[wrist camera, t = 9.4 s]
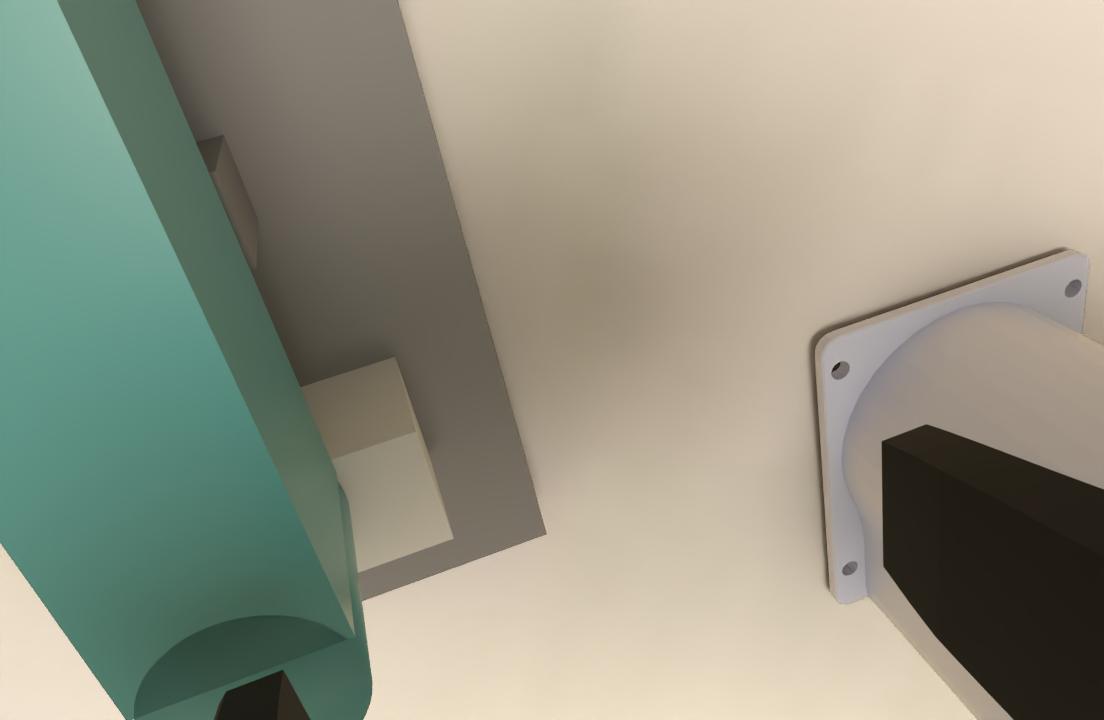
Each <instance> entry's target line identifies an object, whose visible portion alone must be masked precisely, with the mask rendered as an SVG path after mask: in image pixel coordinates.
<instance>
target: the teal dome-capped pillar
mask: <svg viewBox="0 0 1104 720" xmlns="http://www.w3.org/2000/svg"><path fill="white" fill-rule="evenodd" d="M0 543H1V544H2V546H3V547H4V549H5V550H6V551H7V553H8V554H9V556H10V557H11V559H12V560H13V561H14V563H15V564H16V566H17V567H18V568H19V570H20V571H21V573H22V574H23V575H24V577H25V578H26V580H27V581H28V582H29V584H30V585H31V587H32V588H33V589H34V591H35V592H36V594H37V595H38V597H39V598H40V599H41V601H42V602H43V604H44V605H45V606H46V608H47V609H48V611H49V612H50V613H51V615H52V616H53V618H54V619H55V620H56V622H57V623H58V625H59V626H60V628H61V629H62V630H63V632H64V633H65V635H66V636H67V637H68V639H69V640H70V642H71V643H72V644H73V646H74V647H75V649H76V650H77V651H78V653H79V654H80V656H81V657H82V659H83V660H84V661H85V663H86V664H87V666H88V667H89V668H90V670H91V671H92V673H93V674H94V675H95V677H96V678H97V680H98V681H99V682H100V684H101V685H102V687H103V688H104V690H105V691H106V692H107V694H108V695H109V697H110V698H111V699H112V701H113V702H114V704H115V705H116V706H117V708H118V709H119V711H120V712H121V713H122V715H123V716H124V718H125V719H126V720H133V719H134V720H214V718H215V715H216V712H217V709H218V706H219V703H220V701H221V699H222V698H223V696H224V694H225V692H226V691H228V690H231V689H234V688H236V687H239V686H241V685H244V684H247V683H249V682H252V681H255V680H257V679H260V678H262V677H265V676H268V675H270V674H273V673H275V672H278V671H281V670H284V672H285V674H286V675H287V677H288V679H289V681H290V683H291V685H292V686H293V688H294V690H295V692H296V694H297V696H298V698H299V699H300V701H301V703H302V705H303V707H304V709H305V710H306V712H307V714H308V716H309V718H310V720H363V719H364V717H365V715H366V713H367V710H368V707H369V705H370V701H371V696H372V676H371V668H370V661H369V653H368V645H367V638H366V630H365V622H364V615H363V607H362V599H361V592H360V584H359V576H358V568H357V561H356V553H355V545H354V538H353V530H352V522H351V515H350V508H349V502H348V499H347V496H346V494H345V492H344V490H343V488H342V486H341V485H340V483H339V482H338V481H337V473H336V470H335V468H334V465H333V463H332V461H331V458H330V456H329V454H328V451H327V449H326V447H325V444H324V442H323V440H322V437H321V435H320V433H319V430H318V428H317V426H316V423H315V421H314V418H313V416H312V414H311V411H310V409H309V407H308V404H307V402H306V400H305V397H304V395H303V393H302V390H301V388H300V386H299V383H298V381H297V379H296V376H295V374H294V372H293V369H292V367H291V364H290V362H289V360H288V357H287V355H286V353H285V350H284V348H283V346H282V343H281V341H280V339H279V336H278V334H277V332H276V329H275V327H274V325H273V322H272V320H271V318H270V315H269V313H268V310H267V308H266V306H265V303H264V301H263V299H262V296H261V294H260V292H259V289H258V287H257V285H256V282H255V280H254V278H253V275H252V273H251V271H250V268H249V266H248V264H247V261H246V259H245V257H244V254H243V252H242V249H241V247H240V245H239V242H238V240H237V238H236V235H235V233H234V231H233V228H232V226H231V224H230V221H229V219H228V217H227V214H226V212H225V210H224V207H223V205H222V203H221V200H220V198H219V195H218V193H217V191H216V188H215V186H214V184H213V181H212V179H211V177H210V174H209V172H208V170H207V167H206V165H205V163H204V160H203V158H202V156H201V153H200V151H199V149H198V146H197V144H196V141H195V139H194V137H193V134H192V132H191V130H190V127H189V125H188V123H187V120H186V118H185V116H184V113H183V111H182V109H181V106H180V104H179V102H178V99H177V97H176V95H175V92H174V90H173V87H172V85H171V83H170V80H169V78H168V76H167V73H166V71H165V69H164V66H163V64H162V62H161V59H160V57H159V55H158V52H157V50H156V48H155V45H154V43H153V41H152V38H151V36H150V33H149V31H148V29H147V26H146V24H145V22H144V19H143V17H142V15H141V12H140V10H139V8H138V5H137V3H136V1H135V0H0Z"/></svg>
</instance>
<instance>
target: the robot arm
mask: <svg viewBox="0 0 1104 720" xmlns="http://www.w3.org/2000/svg"><path fill="white" fill-rule="evenodd" d="M1088 275H1089V259H1088V257H1087V256H1086V255H1084V254H1082V253H1079V252H1077V251H1074V250H1066V251H1063V252H1060V253H1058V254H1055V255H1052V256H1049V257H1046V258H1043V259H1040V260H1037V261H1034V262H1031V263H1028V264H1026V265H1023V266H1020V267H1017V268H1014V269H1011V270H1008V271H1005V272H1002V273H999V274H997V275H994V276H991V277H988V278H985V279H982V280H979V281H976V282H973V283H970V284H968V285H965V286H962V287H959V288H956V289H953V290H950V291H947V292H944V293H941V294H939V295H936V296H933V297H930V298H927V299H924V300H921V301H918V302H915V303H912V304H910V305H907V306H904V307H901V308H898V309H895V310H892V311H889V312H886V313H883V314H880V315H878V316H875V317H872V318H869V319H866V320H863V321H860V322H857V323H854V324H851V325H849V326H846V327H843V328H840V329H837V330H834V331H831V332H829V333H828V334H826V335H824V336H823V337H822V338H821V339H820V340H819V342H818V344H817V346H816V349H815V366H816V382H817V397H818V413H819V428H820V444H821V459H822V475H823V490H824V506H825V521H826V537H827V552H828V567H829V583H830V592H831V595H832V596H833V597H834V598H835V600H836V601H837V602H839V603H840V604H850V603H853V602H855V601H858V600H860V599H863V598H866V597H868V596H869V597H870V598H871V599H872V601H873V602H874V603H875V604H876V605H877V606H878V607H879V609H880V610H881V611H882V612H883V613H884V614H885V615H886V617H887V618H888V619H889V620H890V621H891V622H892V623H893V624H894V626H895V627H896V628H897V629H898V630H899V631H900V632H901V634H902V635H903V636H904V637H905V638H906V639H907V640H908V642H909V643H910V644H911V645H912V646H913V647H914V648H915V649H916V651H917V652H918V653H919V654H920V655H921V656H922V657H923V659H924V660H925V661H926V662H927V663H928V664H929V665H930V667H931V668H932V669H933V670H934V671H935V672H936V673H937V675H938V676H939V677H940V678H941V679H942V680H943V681H944V682H945V684H946V685H947V686H948V687H949V688H950V689H951V690H952V692H953V693H954V694H955V695H956V696H957V697H958V698H959V700H960V701H961V702H962V703H963V704H964V705H965V706H966V707H967V709H968V710H969V711H970V712H971V713H972V714H973V715H974V717H975V718H976V719H977V720H1104V346H1103V345H1101V344H1099V343H1097V342H1095V341H1093V340H1091V339H1089V338H1087V337H1085V336H1083V335H1082V328H1083V319H1084V310H1085V301H1086V292H1087V284H1088ZM1068 284H1069V285H1068ZM1067 285H1068V286H1067ZM1066 286H1067V288H1066ZM839 362H841V364H840V366H839V368H838V369H837V370H836V371H834V372H832V369H833V367H834V366H835V365H836V364H837V363H839ZM831 372H832V373H831ZM214 720H310V718H309V716H308V714H307V712H306V710H305V709H304V707H303V705H302V703H301V701H300V699H299V698H298V696H297V694H296V692H295V690H294V688H293V686H292V685H291V683H290V681H289V679H288V677H287V675H286V674H285V672H284V670H281V671H278V672H275V673H273V674H270V675H268V676H265V677H262V678H260V679H257V680H255V681H252V682H249V683H247V684H244V685H241V686H239V687H236V688H234V689H231V690H228V691H226V692H225V694H224V696H223V698H222V699H221V701H220V703H219V706H218V709H217V712H216V715H215V718H214Z"/></svg>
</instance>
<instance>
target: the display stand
mask: <svg viewBox="0 0 1104 720" xmlns="http://www.w3.org/2000/svg"><path fill="white" fill-rule="evenodd" d="M135 1H136V3H137V5H138V8H139V10H140V12H141V15H142V17H143V19H144V22H145V24H146V26H147V29H148V31H149V33H150V36H151V38H152V41H153V43H154V45H155V48H156V50H157V52H158V55H159V57H160V59H161V62H162V64H163V66H164V69H165V71H166V73H167V76H168V78H169V80H170V83H171V85H172V87H173V90H174V92H175V95H176V97H177V99H178V102H179V104H180V106H181V109H182V111H183V113H184V116H185V118H186V120H187V123H188V125H189V127H190V130H191V132H192V134H193V137H194V139H195V141H196V144H197V146H198V149H199V151H200V153H201V156H202V158H203V160H204V163H205V165H206V167H207V170H208V172H209V174H210V177H211V179H212V181H213V184H214V186H215V188H216V191H217V193H218V195H219V198H220V200H221V203H222V205H223V207H224V210H225V212H226V214H227V217H228V219H229V221H230V224H231V226H232V228H233V231H234V233H235V235H236V238H237V240H238V242H239V245H240V247H241V249H242V252H243V254H244V257H245V259H246V261H247V264H248V266H249V268H250V271H251V273H252V275H253V278H254V280H255V282H256V285H257V287H258V289H259V292H260V294H261V296H262V299H263V301H264V303H265V306H266V308H267V310H268V313H269V315H270V318H271V320H272V322H273V325H274V327H275V329H276V332H277V334H278V336H279V339H280V341H281V343H282V346H283V348H284V350H285V353H286V355H287V357H288V360H289V362H290V364H291V367H292V369H293V372H294V374H295V376H296V379H297V381H298V383H299V386H300V388H301V390H302V393H303V395H304V397H305V400H306V402H307V404H308V407H309V409H310V411H311V414H312V416H313V418H314V421H315V423H316V426H317V428H318V430H319V433H320V435H321V437H322V440H323V442H324V444H325V447H326V449H327V451H328V454H329V456H330V458H331V461H332V463H333V465H334V468H335V470H336V473H337V481H338V482H339V483H340V485H341V486H342V488H343V490H344V492H345V494H346V496H347V499H348V502H349V508H350V515H351V522H352V530H353V538H354V545H355V553H356V561H357V568H358V576H359V584H360V592H361V599H362V601H364V600H366V599H369V598H372V597H375V596H377V595H380V594H383V593H386V592H388V591H391V590H394V589H397V588H399V587H402V586H405V585H408V584H410V583H413V582H416V581H419V580H422V579H424V578H427V577H430V576H433V575H435V574H438V573H441V572H444V571H446V570H449V569H452V568H455V567H457V566H460V565H463V564H466V563H468V562H471V561H474V560H477V559H479V558H482V557H485V556H488V555H490V554H493V553H496V552H499V551H501V550H504V549H507V548H510V547H512V546H515V545H518V544H521V543H523V542H526V541H529V540H532V539H534V538H537V537H540V536H543V535H545V534H546V530H545V526H544V523H543V519H542V516H541V512H540V508H539V505H538V501H537V498H536V494H535V491H534V487H533V483H532V480H531V476H530V473H529V469H528V466H527V462H526V458H525V455H524V451H523V448H522V444H521V440H520V437H519V433H518V430H517V426H516V423H515V419H514V415H513V412H512V408H511V405H510V401H509V398H508V394H507V390H506V387H505V383H504V380H503V376H502V372H501V369H500V365H499V362H498V358H497V355H496V351H495V347H494V344H493V340H492V337H491V333H490V330H489V326H488V322H487V319H486V315H485V312H484V308H483V304H482V301H481V297H480V294H479V290H478V287H477V283H476V279H475V276H474V272H473V269H472V265H471V262H470V258H469V254H468V251H467V247H466V244H465V240H464V236H463V233H462V229H461V226H460V222H459V219H458V215H457V211H456V208H455V204H454V201H453V197H452V194H451V190H450V186H449V183H448V179H447V176H446V172H445V168H444V165H443V161H442V158H441V154H440V151H439V147H438V143H437V140H436V136H435V133H434V129H433V126H432V122H431V118H430V115H429V111H428V108H427V104H426V100H425V97H424V93H423V90H422V86H421V83H420V79H419V75H418V72H417V68H416V65H415V61H414V58H413V54H412V50H411V47H410V43H409V40H408V36H407V32H406V29H405V25H404V22H403V18H402V15H401V11H400V7H399V4H398V0H135Z"/></svg>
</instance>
